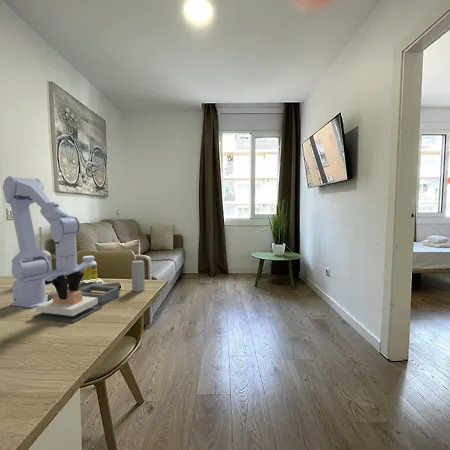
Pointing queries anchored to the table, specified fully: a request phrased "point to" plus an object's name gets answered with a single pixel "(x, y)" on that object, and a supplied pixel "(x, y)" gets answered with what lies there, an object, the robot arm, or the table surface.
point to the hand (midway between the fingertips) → (68, 297)
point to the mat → (67, 318)
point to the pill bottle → (89, 268)
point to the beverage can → (138, 276)
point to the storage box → (101, 293)
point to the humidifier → (46, 254)
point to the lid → (67, 304)
